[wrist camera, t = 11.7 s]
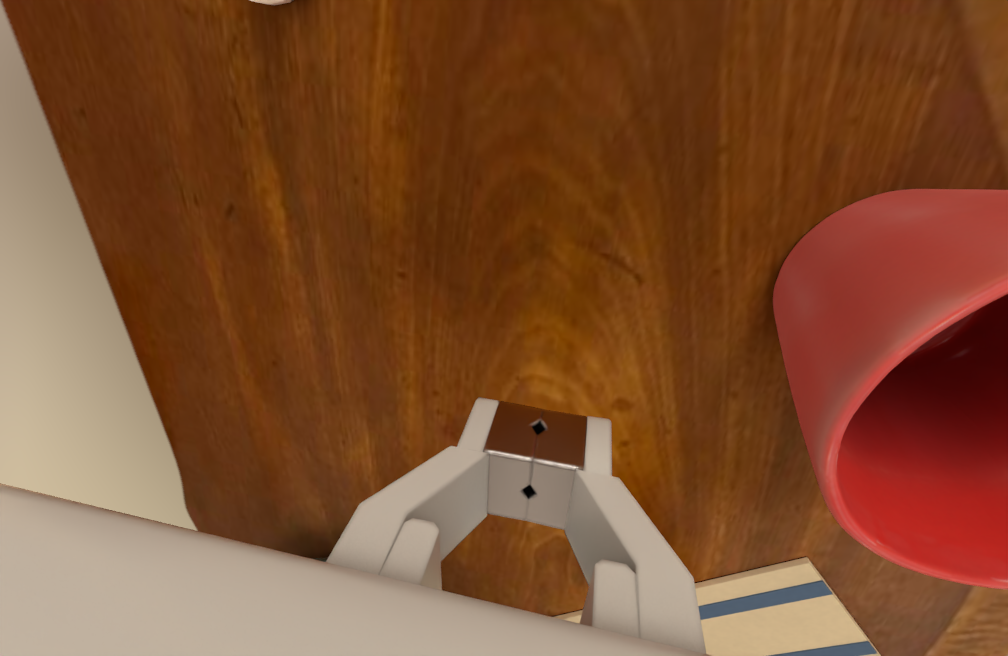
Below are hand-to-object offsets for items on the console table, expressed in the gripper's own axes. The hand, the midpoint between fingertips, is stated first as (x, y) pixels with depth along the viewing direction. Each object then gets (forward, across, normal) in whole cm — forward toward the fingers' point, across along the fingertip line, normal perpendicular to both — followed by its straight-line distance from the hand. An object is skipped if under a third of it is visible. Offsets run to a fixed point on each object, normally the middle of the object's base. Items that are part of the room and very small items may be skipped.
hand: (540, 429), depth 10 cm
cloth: (+12, -13, +29) cm, 34 cm away
